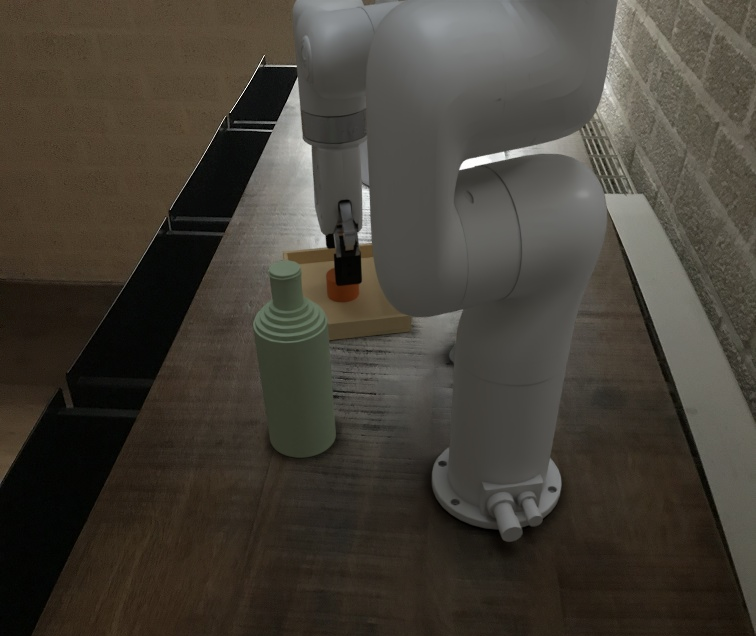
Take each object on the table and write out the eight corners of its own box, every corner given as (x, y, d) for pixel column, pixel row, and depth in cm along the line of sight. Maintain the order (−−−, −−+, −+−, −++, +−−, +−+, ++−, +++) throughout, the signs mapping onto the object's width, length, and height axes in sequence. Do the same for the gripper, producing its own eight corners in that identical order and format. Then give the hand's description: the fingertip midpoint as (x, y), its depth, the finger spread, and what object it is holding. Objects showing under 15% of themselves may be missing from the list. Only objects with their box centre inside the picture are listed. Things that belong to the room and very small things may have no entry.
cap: (327, 286, 105) (325, 267, 103) (358, 285, 105) (357, 265, 103) (327, 303, 102) (325, 283, 100) (359, 301, 102) (358, 282, 100)
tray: (411, 331, 98) (411, 315, 96) (296, 343, 97) (294, 327, 95) (385, 256, 112) (384, 241, 110) (284, 266, 110) (282, 251, 108)
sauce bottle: (339, 453, 82) (328, 283, 69) (272, 461, 82) (246, 291, 68) (331, 411, 87) (319, 245, 73) (267, 419, 87) (243, 252, 73)
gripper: (294, 100, 94) (307, 236, 106) (309, 155, 82) (321, 302, 94) (357, 95, 95) (362, 231, 107) (381, 148, 83) (384, 296, 95)
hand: (343, 264), depth 101 cm, fingers open, 9 cm apart
